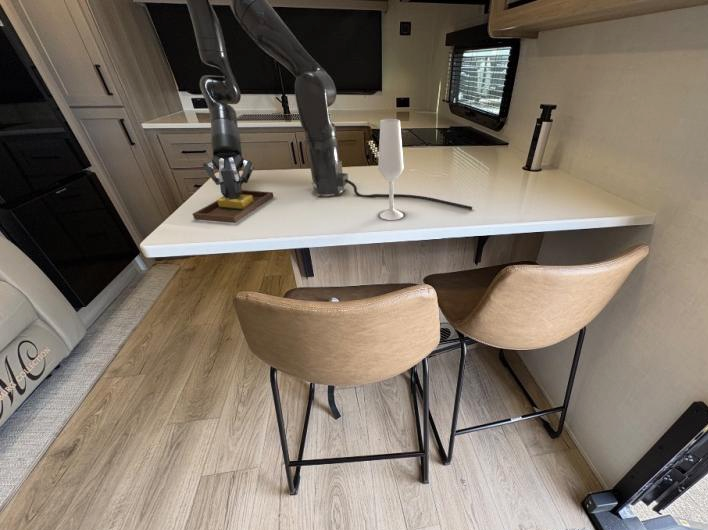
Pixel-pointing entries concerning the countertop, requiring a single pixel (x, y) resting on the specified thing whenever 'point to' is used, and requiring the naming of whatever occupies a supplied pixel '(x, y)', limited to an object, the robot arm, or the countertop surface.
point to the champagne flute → (390, 160)
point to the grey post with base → (233, 193)
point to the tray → (233, 216)
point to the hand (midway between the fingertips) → (232, 195)
